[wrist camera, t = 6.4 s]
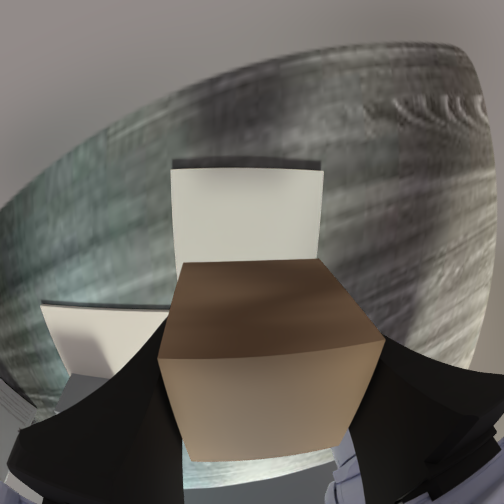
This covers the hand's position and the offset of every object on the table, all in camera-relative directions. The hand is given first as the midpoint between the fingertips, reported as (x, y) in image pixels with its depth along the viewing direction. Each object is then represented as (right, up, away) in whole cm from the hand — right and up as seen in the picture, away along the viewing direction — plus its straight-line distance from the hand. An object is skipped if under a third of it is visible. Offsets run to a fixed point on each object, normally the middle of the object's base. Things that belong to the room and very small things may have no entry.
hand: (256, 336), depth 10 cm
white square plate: (0, +4, +8) cm, 8 cm away
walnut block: (0, 0, +1) cm, 1 cm away
